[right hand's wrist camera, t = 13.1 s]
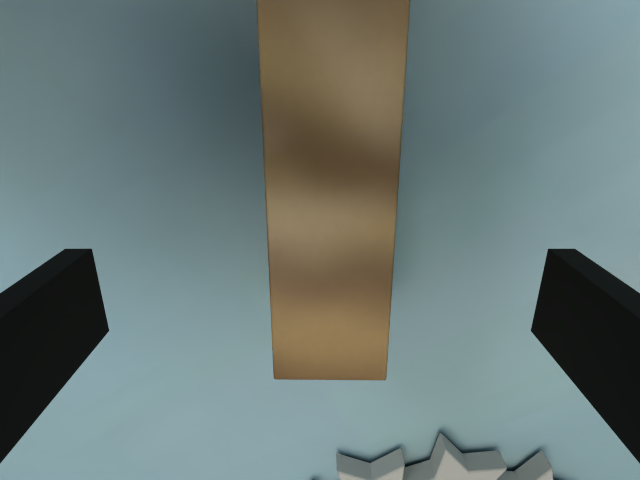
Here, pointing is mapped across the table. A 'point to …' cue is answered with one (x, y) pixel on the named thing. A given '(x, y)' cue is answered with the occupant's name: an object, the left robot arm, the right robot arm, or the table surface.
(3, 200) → the table surface
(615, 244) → the table surface
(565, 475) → the table surface
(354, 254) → the beam
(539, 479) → the decorative wreath
